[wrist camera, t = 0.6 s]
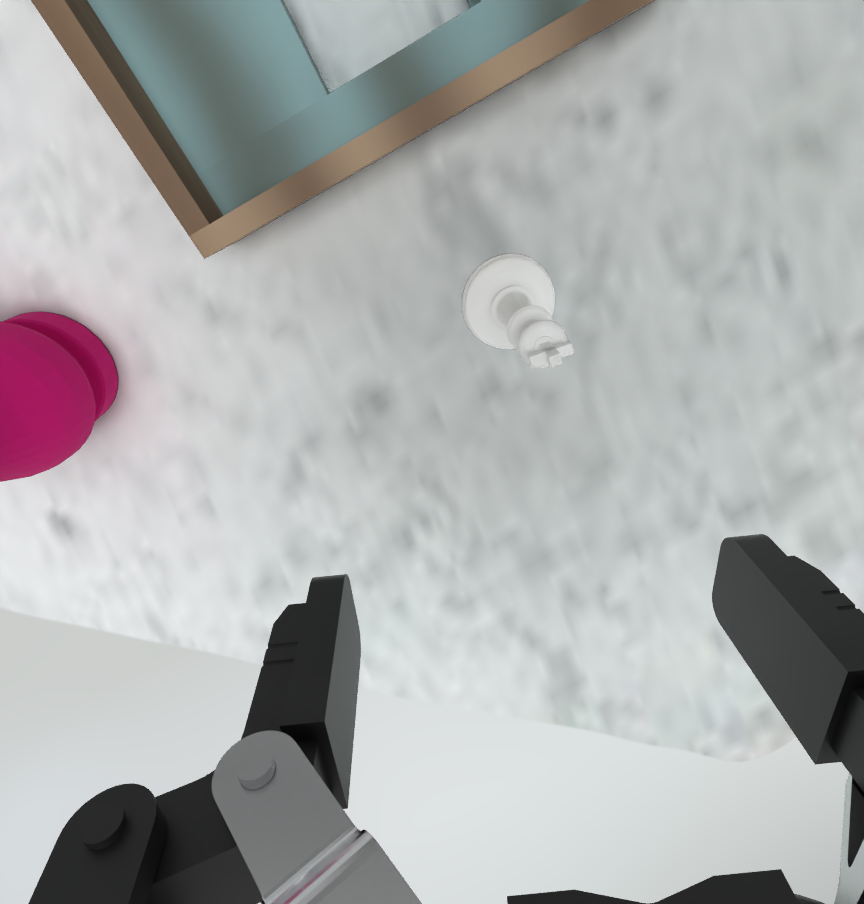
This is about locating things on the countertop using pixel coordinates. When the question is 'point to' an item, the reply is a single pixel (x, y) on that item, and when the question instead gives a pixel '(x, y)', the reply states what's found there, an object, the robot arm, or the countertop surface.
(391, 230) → the countertop surface
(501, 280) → the chess piece
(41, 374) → the pepper mill
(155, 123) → the box
